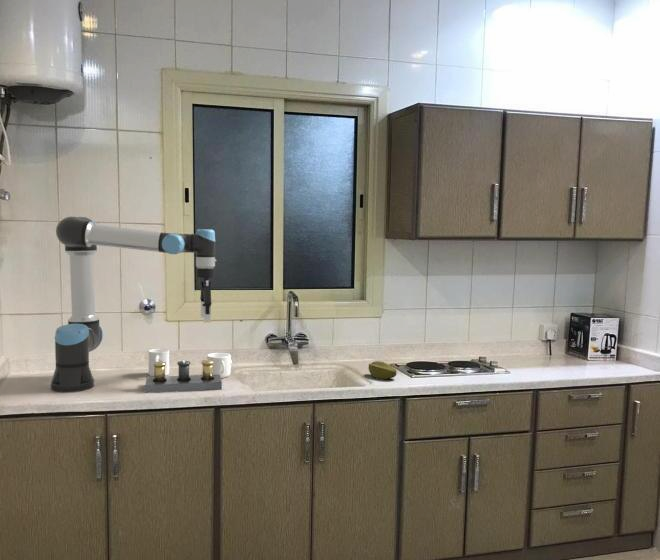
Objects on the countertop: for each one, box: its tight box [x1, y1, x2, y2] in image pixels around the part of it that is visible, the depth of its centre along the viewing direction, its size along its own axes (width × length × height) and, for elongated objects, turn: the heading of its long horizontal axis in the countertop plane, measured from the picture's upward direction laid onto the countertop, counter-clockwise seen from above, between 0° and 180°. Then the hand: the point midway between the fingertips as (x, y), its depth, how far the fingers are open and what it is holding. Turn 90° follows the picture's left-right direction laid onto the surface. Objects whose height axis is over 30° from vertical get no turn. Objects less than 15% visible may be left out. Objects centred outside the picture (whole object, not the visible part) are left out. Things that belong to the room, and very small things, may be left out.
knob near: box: [153, 362, 166, 382], centre depth 228 cm, size 5×5×7 cm
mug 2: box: [206, 352, 233, 379], centre depth 248 cm, size 12×10×9 cm
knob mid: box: [177, 359, 191, 381], centre depth 231 cm, size 5×5×7 cm
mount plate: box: [144, 374, 223, 394], centre depth 231 cm, size 28×12×3 cm, turn 105°
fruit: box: [368, 360, 397, 380], centre depth 254 cm, size 11×12×7 cm
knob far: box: [200, 359, 214, 380], centre depth 233 cm, size 5×5×7 cm
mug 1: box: [148, 348, 170, 377], centre depth 247 cm, size 12×8×10 cm
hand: (205, 319), depth 242 cm, fingers open, 13 cm apart
